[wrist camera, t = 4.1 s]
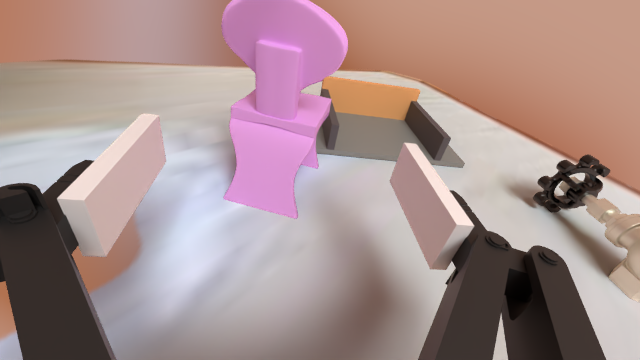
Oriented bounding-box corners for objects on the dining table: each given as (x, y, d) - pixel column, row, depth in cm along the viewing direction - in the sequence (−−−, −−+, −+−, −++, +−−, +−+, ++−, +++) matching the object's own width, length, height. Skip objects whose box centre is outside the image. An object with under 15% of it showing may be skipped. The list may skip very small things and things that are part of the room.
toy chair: (328, 167, 31) (364, 1, 22) (308, 222, 23) (350, 8, 15) (253, 147, 31) (259, -21, 23) (211, 195, 24) (197, -24, 16)
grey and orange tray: (297, 151, 32) (303, 106, 29) (295, 105, 43) (299, 69, 40) (462, 167, 35) (483, 129, 32) (423, 121, 46) (435, 89, 43)
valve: (694, 313, 22) (572, 208, 32) (788, 257, 19) (616, 157, 28) (625, 313, 21) (519, 204, 31) (709, 253, 18) (559, 150, 27)
